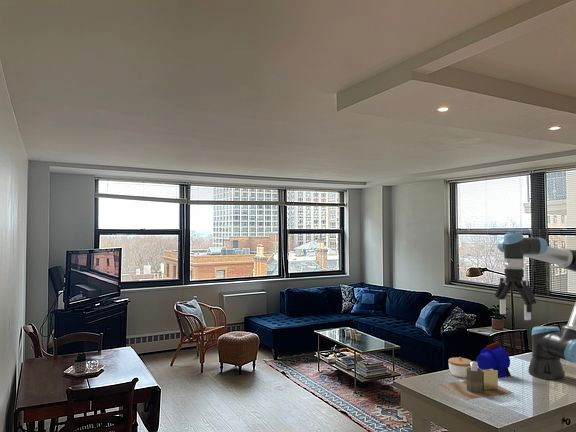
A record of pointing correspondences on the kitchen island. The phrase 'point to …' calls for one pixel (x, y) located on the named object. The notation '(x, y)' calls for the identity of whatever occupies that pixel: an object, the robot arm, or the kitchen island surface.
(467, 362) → the lidded jar
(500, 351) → the alarm clock
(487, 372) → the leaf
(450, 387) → the jig
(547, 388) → the kitchen island surface
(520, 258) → the robot arm
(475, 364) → the pin
